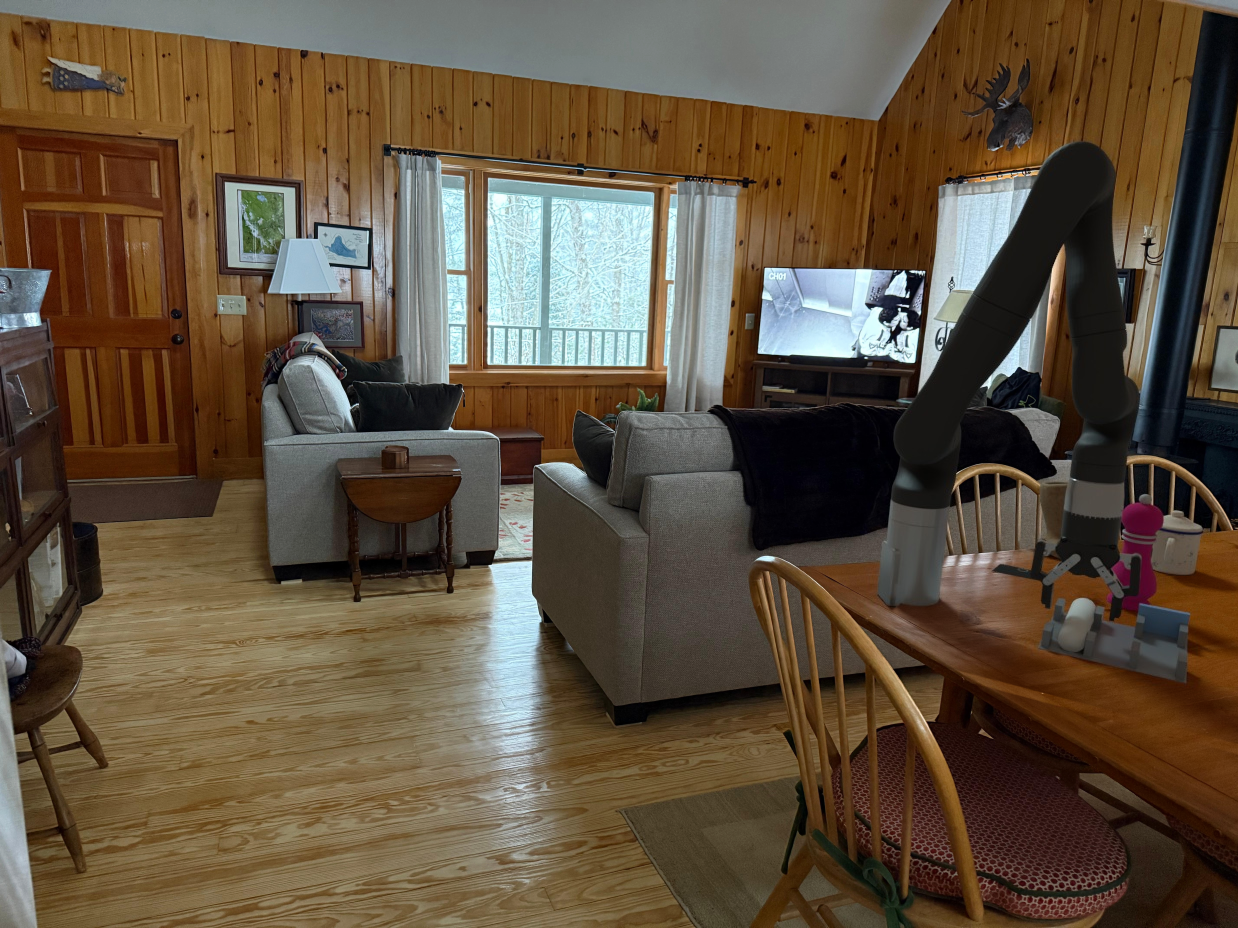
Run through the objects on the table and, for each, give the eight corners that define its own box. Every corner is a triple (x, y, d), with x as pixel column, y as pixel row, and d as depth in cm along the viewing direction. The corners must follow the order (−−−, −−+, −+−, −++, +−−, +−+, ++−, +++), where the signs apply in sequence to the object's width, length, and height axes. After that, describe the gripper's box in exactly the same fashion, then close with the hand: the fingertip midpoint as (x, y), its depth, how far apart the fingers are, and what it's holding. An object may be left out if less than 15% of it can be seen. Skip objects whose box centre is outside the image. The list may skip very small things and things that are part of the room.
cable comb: (1185, 689, 111) (1191, 654, 110) (1036, 654, 121) (1041, 621, 120) (1186, 644, 127) (1191, 613, 126) (1054, 616, 137) (1059, 587, 136)
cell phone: (1049, 578, 157) (1050, 573, 157) (1025, 603, 143) (1026, 598, 143) (999, 567, 163) (1000, 563, 162) (972, 590, 149) (973, 585, 148)
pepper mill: (1159, 619, 137) (1180, 501, 133) (1111, 614, 138) (1130, 497, 134) (1142, 603, 144) (1161, 491, 140) (1096, 599, 145) (1114, 487, 141)
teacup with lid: (1143, 558, 171) (1153, 503, 169) (1197, 568, 166) (1207, 511, 163) (1136, 572, 162) (1146, 514, 159) (1193, 583, 156) (1203, 523, 154)
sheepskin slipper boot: (1037, 538, 183) (1046, 472, 180) (1098, 549, 176) (1109, 480, 173) (1023, 554, 171) (1033, 483, 168) (1089, 566, 164) (1100, 492, 161)
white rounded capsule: (1078, 656, 119) (1089, 636, 118) (1053, 643, 121) (1064, 623, 120) (1089, 623, 132) (1100, 604, 131) (1067, 612, 134) (1077, 593, 133)
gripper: (1035, 507, 124) (1024, 610, 127) (1148, 521, 116) (1133, 631, 119) (1042, 498, 130) (1031, 597, 133) (1150, 511, 122) (1135, 616, 125)
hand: (1079, 613), depth 126 cm, fingers open, 8 cm apart
